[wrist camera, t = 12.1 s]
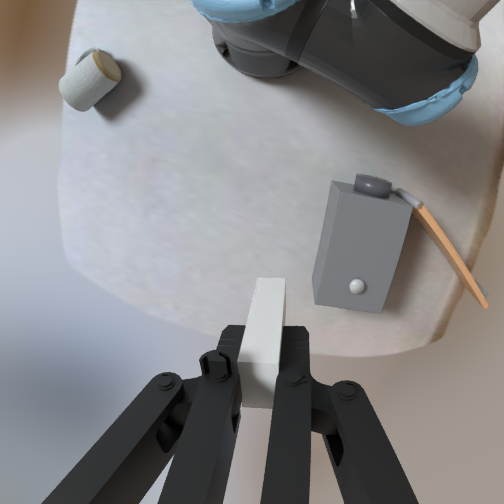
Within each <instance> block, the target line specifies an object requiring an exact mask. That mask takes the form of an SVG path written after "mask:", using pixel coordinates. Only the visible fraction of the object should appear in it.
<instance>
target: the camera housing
mask: <svg viewBox="0 0 504 504" xmlns="http://www.w3.org/2000/svg"><path fill="white" fill-rule="evenodd" d="M391 186H392V183H391V182H389V181H386V180H383V179H380V178H377V177H373V176H368V175H362V174H356V179H355V184H354V185H352V184H347V183H342V182H337V181H332V182H331V188H330V193H329V198H328V204H327V209H326V214H325V219H324V224H323V229H322V234H321V239H320V244H319V249H318V253H317V258H316V263H315V267H314V272H313V276H312V283H313V292H314V301H315V304H316V305H323V306H330V307H337V308H344V309H352V310H360V311H368V312H376V313H381V311H382V308H383V305H384V302H385V299H386V297H387V294H388V291H389V288H390V285H391V282H392V279H393V276H394V272H395V269H396V266H397V263H398V260H399V256H400V253H401V250H402V246H403V243H404V239H405V235H406V232H407V228H408V224H409V220H410V217H411V213H412V208H413V206H411V205H410V204H409V203H407V202H406V201H404V200H403V199H402V198H400V197H399V196H397V195H396V194H395V193H390V191H391Z"/></svg>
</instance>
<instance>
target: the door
mask: <svg viewBox="0 0 504 504" xmlns="http://www.w3.org/2000/svg"><path fill="white" fill-rule="evenodd" d="M396 194H397V195H398V196H399V197H400V198H402V199H403V200H404V201H406V202H407V203H409V204H410V205H411V206H413V208H412V213H413V214H414V215H415V217H416V218H417V219H418V221H419V222H420V223H421V224H422V226H423V227H424V228H425V230H426V231H427V232H428V234H429V235H430V236H431V238H432V239H433V241H434V242H435V243H436V245H437V246H438V247H439V249H440V250H441V252H442V253H443V254H444V256H445V257H446V259H447V260H448V262H449V263H450V265H451V266H452V268H453V269H454V271H455V272H456V274H457V275H458V277H459V278H460V280H461V281H462V283H463V284H464V286H465V287H466V288H467V290H468V291H469V292H470V293H471V294H472V295H473V297H474V298H475V299H476V300H477V301H478V302H479V304H480V305H481V306H482V307H483V308H484V310H485V309H486V308H487V307H488V306H489V305H488V303H487V301H486V300H485V298H486V297H487V296H488V293H487V292H486V291H485V290H484V289H483V288H482V286H481V285H480V284H479V283H478V282H477V281H476V280H475V279H474V278H473V277H472V275H471V274H470V272H469V271H468V269H467V267H466V266H465V264H464V263H463V261H462V259H461V258H460V256H459V255H458V253H457V252H456V250H455V249H454V247H453V246H452V244H451V243H450V241H449V240H448V238H447V237H446V235H445V234H444V233H443V231H442V230H441V228H440V227H439V225H438V224H437V223H436V221H435V220H434V219H433V217H432V216H431V214H430V213H429V212H428V210H427V209H426V208H425V206H424V205H423V203H422V201H420V200H418V199H417V198H415V197H414V196H412V195H411V194H409V193H407V192H406V191H404V190H403V189H401V188H399V189H397V190H396Z"/></svg>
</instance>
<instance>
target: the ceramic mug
mask: <svg viewBox="0 0 504 504" xmlns="http://www.w3.org/2000/svg"><path fill="white" fill-rule="evenodd" d="M120 80H121V71H120V68H119V66H118V65H117V63H116V62H115V60H114V59H113V58H112V57H111V56H110V55H109V54H107V53H106V52H104V51H101V50H100V49H99V48H97V47H93V48H90V49H88V50H87V51H86V52H84V53H83V54H82V55H81V56H80V58H79V59H78V60H77V62H76V64H75V66H74V68H72V69H71V70H70V71H69V72H68V73H67V74H66V75H64V76H63V77H62V78H61V80H60V81H59V90H60V93H61V95H62V96H63V98H64V100H65V101H66V102H67V103H68V104H69V105H70V106H71V107H73V108H74V109H76V110H78V111H83V112H84V111H87V110H89V109H90V108H91V107H92V106H93V105H94V104H95V103H96V102H98V101H99V100H100V99H101V98H102V97H103V96H104V95H105V94H106V93H108V92H109V91H110V90H112V89H113V88H114V87H115V86H116V85H117V84H118V83H119V81H120Z"/></svg>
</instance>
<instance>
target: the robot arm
mask: <svg viewBox="0 0 504 504" xmlns="http://www.w3.org/2000/svg"><path fill="white" fill-rule="evenodd" d="M190 1H191V3H192V5H193V6H194V7H195V8H196V10H197V11H199V12H200V14H201V15H203V16H204V17H205V18H206V19H207V20H208V21H209V22H210V23H211V25H212V26H213V27H212V33H213V39H214V43H215V46H216V48H217V50H218V52H219V53H220V55H221V56H222V57H223V58H224V59H225V60H226V61H227V62H228V63H229V64H230V65H231V66H232V67H233V68H235V69H236V70H238V71H240V72H242V73H244V74H247V75H250V76H253V77H258V78H277V77H282V76H286V75H289V74H292V73H294V72H296V71H298V70H299V69H301V68H302V67H305V68H307V69H309V70H311V71H313V72H314V73H316V74H318V75H320V76H322V77H324V78H325V79H327V80H329V81H331V82H332V83H334V84H336V85H337V86H339V87H341V88H342V89H344V90H346V91H347V92H349V93H351V94H352V95H354V96H356V97H357V98H359V99H360V100H362V101H363V102H365V103H366V104H367V105H368V106H369V107H370V108H372V109H374V110H376V111H377V112H381V113H383V114H385V115H387V116H388V117H390V118H391V119H393V120H395V121H396V122H398V123H400V124H403V125H406V126H421V125H425V124H428V123H431V122H433V121H435V120H437V119H439V118H440V117H442V116H444V115H445V114H446V113H448V112H449V111H450V110H452V109H453V108H454V107H455V106H456V105H457V104H458V103H459V102H460V101H461V100H462V99H463V98H462V94H463V93H464V92H466V91H468V90H470V88H471V87H472V85H473V83H474V81H475V79H476V76H477V73H478V60H477V57H476V55H475V52H476V51H478V49H479V48H480V47H481V39H480V32H479V21H480V20H481V19H482V18H483V17H484V16H485V15H486V14H487V13H488V12H489V11H490V10H491V9H492V8H493V7H494V6H495V5H496V4H497V3H498V2H499V1H500V0H190ZM285 308H286V278H257V282H256V286H255V291H254V295H253V299H252V303H251V307H250V311H249V315H248V320H247V324H246V326H245V325H228V326H227V327H226V328H225V329H224V330H223V331H222V334H221V337H220V340H219V343H218V346H217V349H216V350H212V351H209V352H207V353H205V354H203V355H202V356H201V358H200V359H199V361H200V366H201V370H202V376H199V377H197V378H192V379H185V380H182V379H181V378H180V376H179V375H177V374H175V373H171V372H165V373H161V374H158V375H156V376H155V377H154V378H152V380H151V381H150V382H149V383H148V384H147V385H146V386H145V388H144V389H143V390H142V391H141V392H140V393H139V394H138V396H137V397H136V398H135V399H134V400H133V401H132V402H131V404H130V405H129V406H128V407H127V408H126V409H125V411H123V413H122V414H121V415H120V416H119V417H118V418H117V420H116V421H115V422H114V423H113V424H112V425H111V426H110V427H109V428H108V430H107V431H106V432H105V433H104V434H103V435H102V436H101V437H100V439H99V440H98V441H97V442H96V443H95V444H94V445H93V447H92V448H91V449H90V450H89V451H88V452H87V453H86V455H85V456H84V457H83V458H82V459H81V460H80V461H79V462H78V463H77V464H76V466H75V467H74V468H73V469H72V470H71V471H70V472H69V474H68V475H67V476H66V477H65V478H64V479H63V480H62V481H61V483H59V485H58V486H57V487H56V488H55V489H54V490H53V491H52V492H51V494H50V495H49V496H48V497H47V498H46V499H45V500H44V501H43V502H42V504H139V503H140V501H141V500H142V499H143V497H144V496H145V494H146V493H147V492H148V490H149V489H150V488H151V486H152V485H153V484H154V482H155V481H156V479H157V478H158V476H159V475H160V474H161V472H162V471H163V469H164V468H165V466H166V465H167V464H168V462H169V461H170V459H171V458H172V456H173V455H174V457H173V460H172V463H171V466H170V469H169V472H168V475H167V477H166V480H165V483H164V486H163V489H162V492H161V495H160V498H159V501H158V504H223V500H224V495H225V490H226V485H227V481H228V477H229V472H230V467H231V462H232V458H233V453H234V448H235V443H236V438H237V433H238V428H239V423H240V418H241V415H240V406H241V402H242V406H243V407H251V408H268V409H273V411H272V420H271V428H270V436H269V444H268V452H267V460H266V467H265V474H264V482H263V488H262V496H261V502H260V504H309V490H310V489H309V487H310V461H311V431H313V432H317V433H320V434H322V436H323V439H324V442H325V445H326V448H327V452H328V455H329V458H330V461H331V464H332V467H333V470H334V473H335V476H336V479H337V482H338V485H339V488H340V491H341V494H342V497H343V500H344V504H419V503H418V501H417V499H416V496H415V494H414V492H413V490H412V488H411V485H410V483H409V481H408V479H407V477H406V475H405V473H404V471H403V468H402V467H401V464H400V462H399V460H398V458H397V456H396V454H395V452H394V450H393V447H392V445H391V443H390V441H389V439H388V437H387V435H386V433H385V431H384V429H383V427H382V425H381V423H380V421H379V419H378V417H377V415H376V413H375V411H374V409H373V407H372V405H371V403H370V401H369V399H368V397H367V395H366V393H365V391H364V389H363V388H362V387H361V385H359V384H358V383H356V382H353V381H348V380H347V381H340V382H337V383H335V384H334V385H333V386H329V385H324V384H322V383H319V382H317V381H316V380H315V379H314V378H313V377H312V376H311V374H310V353H309V332H308V331H307V330H306V328H305V327H304V326H285Z"/></svg>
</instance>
